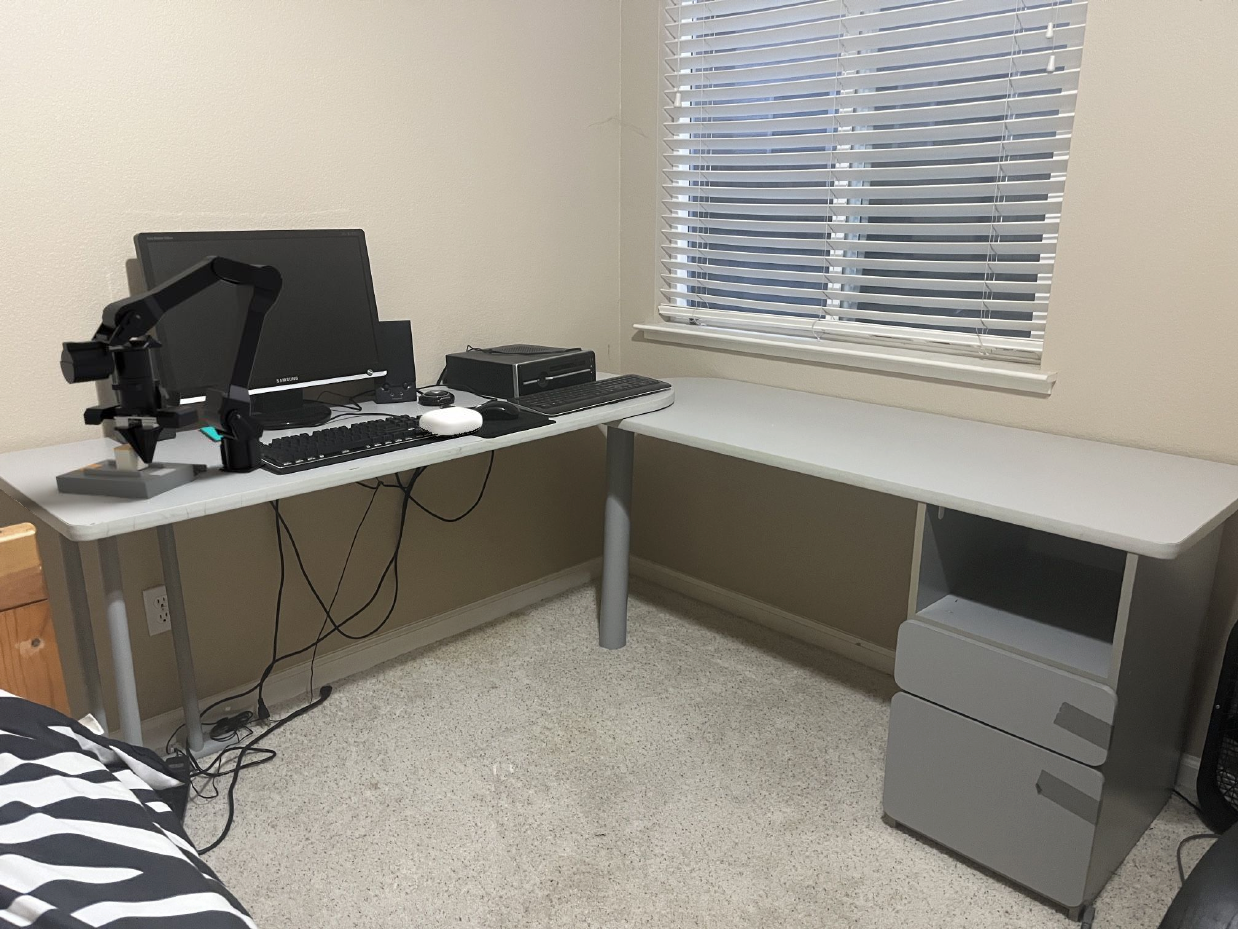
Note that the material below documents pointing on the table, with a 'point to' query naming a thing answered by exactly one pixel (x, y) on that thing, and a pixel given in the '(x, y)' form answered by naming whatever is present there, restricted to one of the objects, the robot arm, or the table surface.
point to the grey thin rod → (201, 467)
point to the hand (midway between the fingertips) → (148, 463)
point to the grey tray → (125, 479)
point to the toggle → (128, 458)
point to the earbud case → (451, 421)
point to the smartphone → (211, 433)
